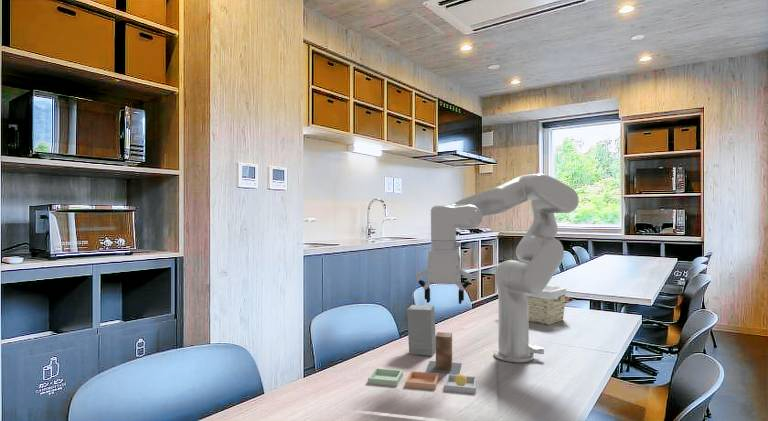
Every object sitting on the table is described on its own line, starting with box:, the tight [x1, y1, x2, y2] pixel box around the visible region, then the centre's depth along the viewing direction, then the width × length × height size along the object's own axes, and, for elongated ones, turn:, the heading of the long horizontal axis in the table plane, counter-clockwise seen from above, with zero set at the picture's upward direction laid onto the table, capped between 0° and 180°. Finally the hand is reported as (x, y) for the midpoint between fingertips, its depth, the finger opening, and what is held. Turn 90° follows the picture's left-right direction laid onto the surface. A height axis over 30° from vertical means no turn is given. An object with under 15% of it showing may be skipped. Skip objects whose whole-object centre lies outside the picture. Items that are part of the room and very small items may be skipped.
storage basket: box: [526, 284, 567, 325], centre depth 198 cm, size 24×16×15 cm
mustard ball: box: [455, 373, 467, 386], centre depth 121 cm, size 3×3×3 cm
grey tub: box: [443, 374, 478, 395], centre depth 121 cm, size 8×8×2 cm
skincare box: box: [406, 304, 436, 357], centre depth 151 cm, size 8×7×16 cm
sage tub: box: [367, 367, 404, 387], centre depth 126 cm, size 8×8×2 cm
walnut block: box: [435, 331, 453, 371], centre depth 135 cm, size 4×4×10 cm
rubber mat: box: [424, 360, 463, 375], centre depth 135 cm, size 10×10×1 cm
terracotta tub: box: [404, 370, 440, 390], centre depth 123 cm, size 8×8×2 cm
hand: (444, 302), depth 135 cm, fingers open, 9 cm apart
